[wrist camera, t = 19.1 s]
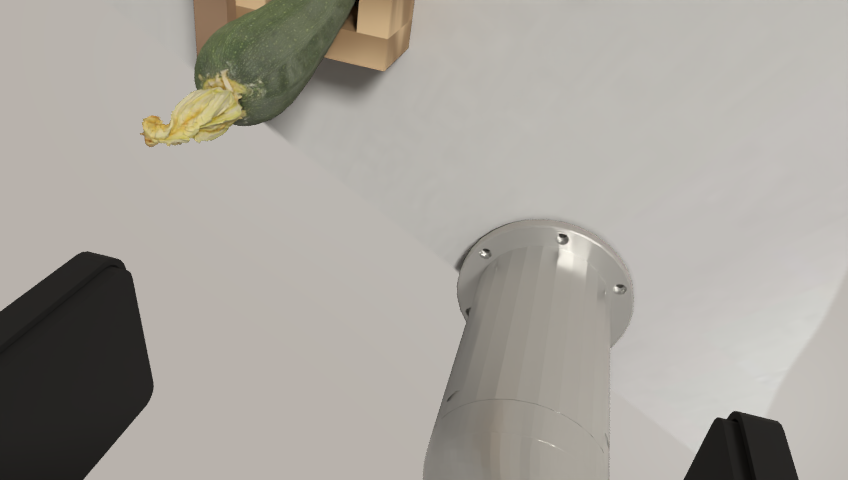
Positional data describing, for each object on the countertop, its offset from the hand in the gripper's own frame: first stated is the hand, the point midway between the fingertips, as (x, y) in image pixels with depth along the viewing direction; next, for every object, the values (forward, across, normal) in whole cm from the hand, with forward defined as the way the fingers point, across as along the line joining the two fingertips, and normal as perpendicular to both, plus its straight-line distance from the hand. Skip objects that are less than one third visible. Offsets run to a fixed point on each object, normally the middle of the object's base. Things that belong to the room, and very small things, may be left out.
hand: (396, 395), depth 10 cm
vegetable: (+31, +12, -1) cm, 34 cm away
